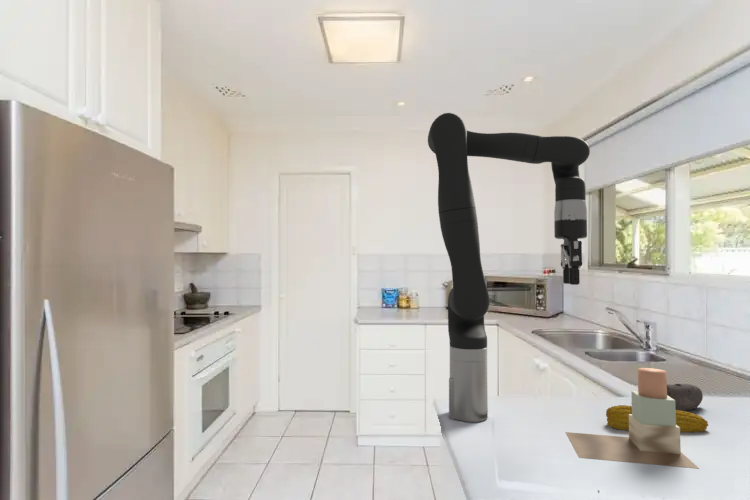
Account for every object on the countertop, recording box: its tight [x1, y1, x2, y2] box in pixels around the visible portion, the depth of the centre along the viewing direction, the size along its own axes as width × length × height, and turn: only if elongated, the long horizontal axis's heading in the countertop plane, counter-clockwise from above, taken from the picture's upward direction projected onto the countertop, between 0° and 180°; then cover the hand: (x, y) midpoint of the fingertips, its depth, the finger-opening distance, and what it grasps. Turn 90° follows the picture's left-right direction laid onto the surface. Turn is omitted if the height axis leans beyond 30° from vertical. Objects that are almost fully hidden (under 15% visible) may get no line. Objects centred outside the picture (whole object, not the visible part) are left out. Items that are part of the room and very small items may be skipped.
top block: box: [631, 390, 676, 427], centre depth 92 cm, size 6×6×5 cm
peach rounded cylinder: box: [637, 367, 668, 399], centre depth 92 cm, size 5×5×5 cm
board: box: [565, 431, 700, 469], centre depth 90 cm, size 20×14×1 cm
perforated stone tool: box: [667, 383, 704, 412], centre depth 120 cm, size 15×5×7 cm, turn 112°
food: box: [605, 404, 709, 433], centre depth 103 cm, size 21×6×6 cm, turn 86°
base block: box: [628, 414, 681, 454], centre depth 92 cm, size 7×7×5 cm
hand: (571, 284), depth 113 cm, fingers open, 8 cm apart
